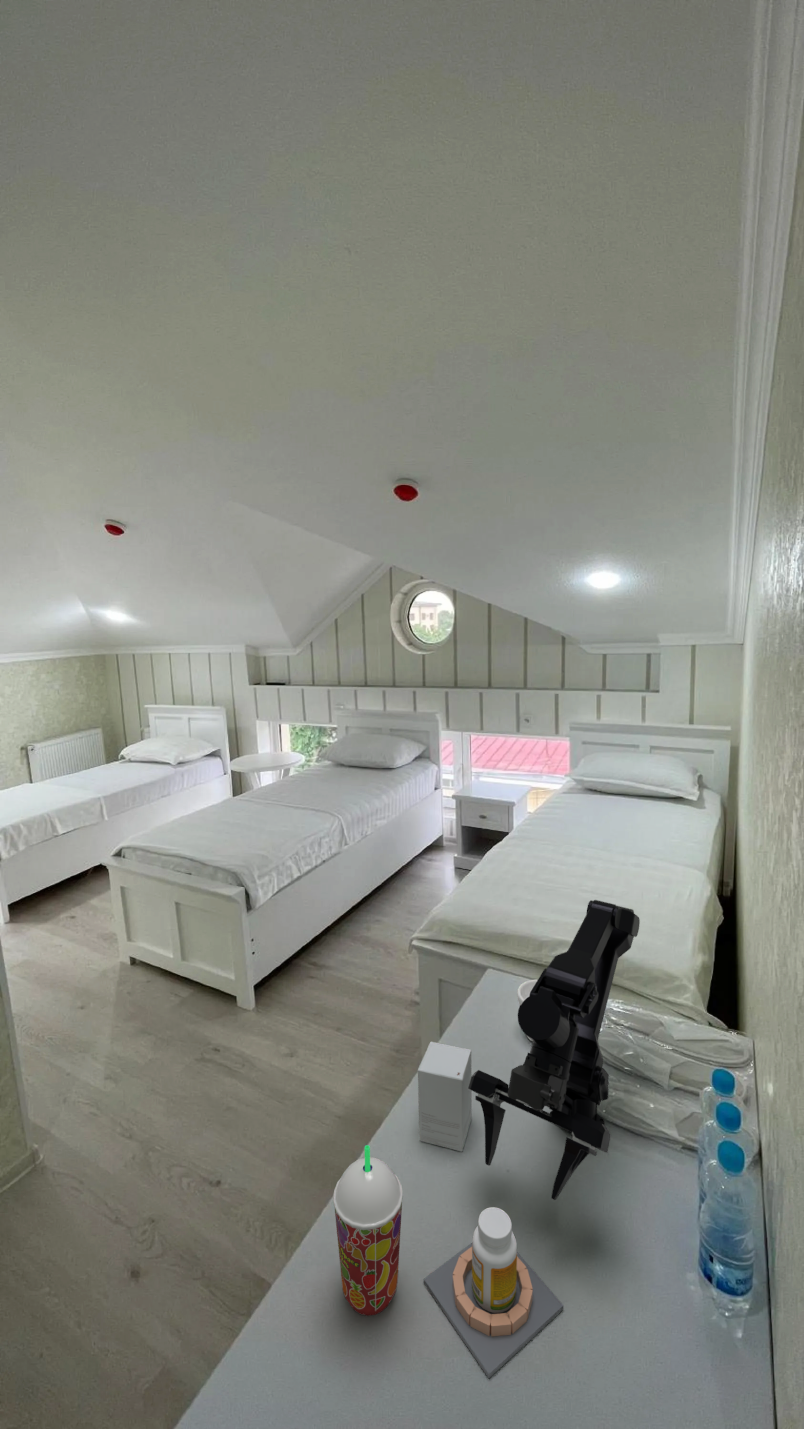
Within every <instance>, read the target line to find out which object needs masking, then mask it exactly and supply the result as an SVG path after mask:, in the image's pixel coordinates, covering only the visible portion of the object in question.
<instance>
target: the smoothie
mask: <svg viewBox="0 0 804 1429" xmlns="http://www.w3.org/2000/svg"><path fill="white" fill-rule="evenodd" d="M332 1196H333V1197H332V1199H333V1200H332V1201H333V1202H332V1203H333V1206H334V1215H335V1216H334V1217H335V1225H336V1235H337V1246H338V1254H339V1255H338V1257H339V1265H340V1276H341V1284H342V1285H341V1286H342V1292H343V1294H344V1298H345V1300H346V1301H347V1303H348V1304H349V1305H350V1306H351V1308H352V1309H353V1310H354V1311H355V1312H356V1313H358V1314H360V1315H363V1316H367V1317H370V1316H376V1315H378V1314H379V1313H381V1312H383V1311H385V1309H386V1308H387V1307H388V1306H389V1304H390V1303H391V1301H392V1299H393V1297H394V1296H395V1294H396V1292H397V1288H398V1287H397V1286H398V1283H399V1282H398V1281H399V1280H398V1278H399V1265H400V1264H399V1263H400V1262H399V1260H400V1245H401V1228H402V1227H401V1226H402V1209H403V1198H404V1192H403V1185H402V1183H401V1181H400V1179H399V1177H398V1176H397V1174H395V1172H394V1171H393V1169H392V1168H391V1167H390V1166H389V1165H388V1164H387V1162H385V1161H383V1160H382V1159H381V1158H380V1159H379V1158H378V1157H373V1156H371V1146H370V1145H364V1157H361V1158H359V1159H357V1160H355V1161H354V1162H352V1163H350V1164H349V1166H348V1167H346V1169H345V1170H344V1172H343V1173H342V1175H341V1176H340V1179H338V1181H337V1182H336V1185H335V1187H334V1191H333V1195H332Z"/></svg>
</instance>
